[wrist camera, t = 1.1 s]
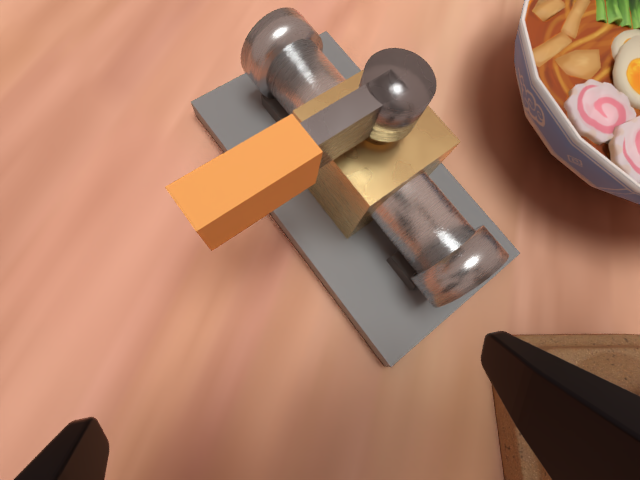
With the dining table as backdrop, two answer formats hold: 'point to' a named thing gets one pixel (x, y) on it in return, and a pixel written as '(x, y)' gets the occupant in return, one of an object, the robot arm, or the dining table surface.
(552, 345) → the candle holder
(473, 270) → the valve assembly
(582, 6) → the ramen bowl
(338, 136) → the valve lever
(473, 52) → the dining table surface
